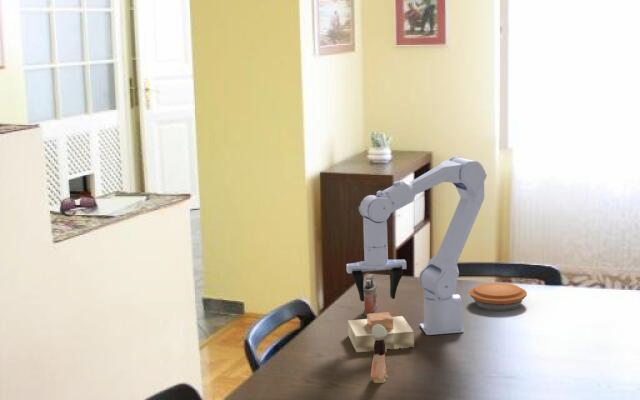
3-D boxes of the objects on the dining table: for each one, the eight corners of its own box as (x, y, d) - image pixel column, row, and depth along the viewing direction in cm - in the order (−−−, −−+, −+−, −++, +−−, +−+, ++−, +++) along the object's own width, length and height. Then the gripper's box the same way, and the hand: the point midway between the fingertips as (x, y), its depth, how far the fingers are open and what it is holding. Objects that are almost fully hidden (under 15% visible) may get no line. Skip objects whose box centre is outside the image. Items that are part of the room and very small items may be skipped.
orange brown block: (388, 335, 223) (388, 312, 222) (393, 342, 218) (393, 318, 217) (367, 337, 222) (366, 313, 221) (371, 344, 217) (371, 320, 216)
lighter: (374, 317, 239) (373, 281, 237) (362, 317, 239) (361, 280, 238) (378, 307, 247) (377, 272, 245) (366, 307, 247) (365, 272, 245)
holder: (402, 331, 227) (402, 316, 226) (414, 347, 215) (413, 331, 215) (348, 335, 225) (347, 320, 225) (356, 352, 214) (356, 336, 213)
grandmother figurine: (371, 373, 200) (370, 319, 198) (389, 373, 200) (387, 319, 197) (370, 387, 193) (368, 330, 190) (388, 387, 192) (386, 330, 190)
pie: (534, 300, 248) (535, 283, 247) (514, 317, 235) (514, 298, 234) (482, 293, 256) (482, 276, 255) (460, 309, 243) (460, 291, 242)
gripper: (349, 251, 213) (351, 306, 215) (408, 246, 214) (410, 301, 217) (344, 244, 219) (346, 297, 222) (402, 240, 221) (403, 292, 224)
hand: (377, 298), depth 220 cm, fingers open, 7 cm apart
